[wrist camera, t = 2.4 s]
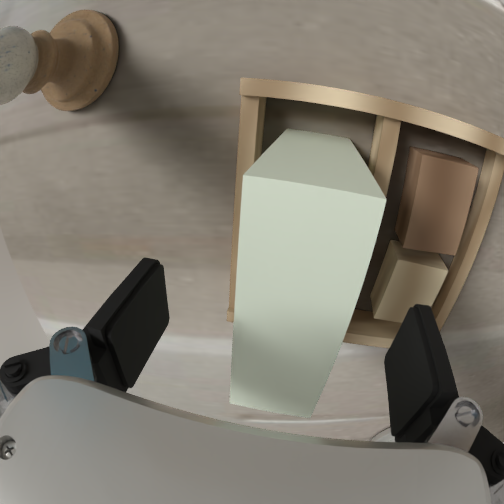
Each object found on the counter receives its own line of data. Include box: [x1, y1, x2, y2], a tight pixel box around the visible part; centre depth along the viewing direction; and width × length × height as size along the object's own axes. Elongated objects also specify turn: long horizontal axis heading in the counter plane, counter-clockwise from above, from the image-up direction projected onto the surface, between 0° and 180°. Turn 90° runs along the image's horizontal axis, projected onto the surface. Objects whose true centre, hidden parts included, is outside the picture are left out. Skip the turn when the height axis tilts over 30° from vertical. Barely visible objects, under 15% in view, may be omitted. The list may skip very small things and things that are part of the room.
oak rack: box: [227, 78, 504, 348], centre depth 19 cm, size 18×17×3 cm
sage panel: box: [230, 128, 387, 418], centre depth 16 cm, size 4×11×12 cm, turn 175°
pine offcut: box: [370, 240, 448, 323], centre depth 21 cm, size 4×5×3 cm
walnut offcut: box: [395, 146, 479, 255], centre depth 17 cm, size 4×6×3 cm, turn 178°
